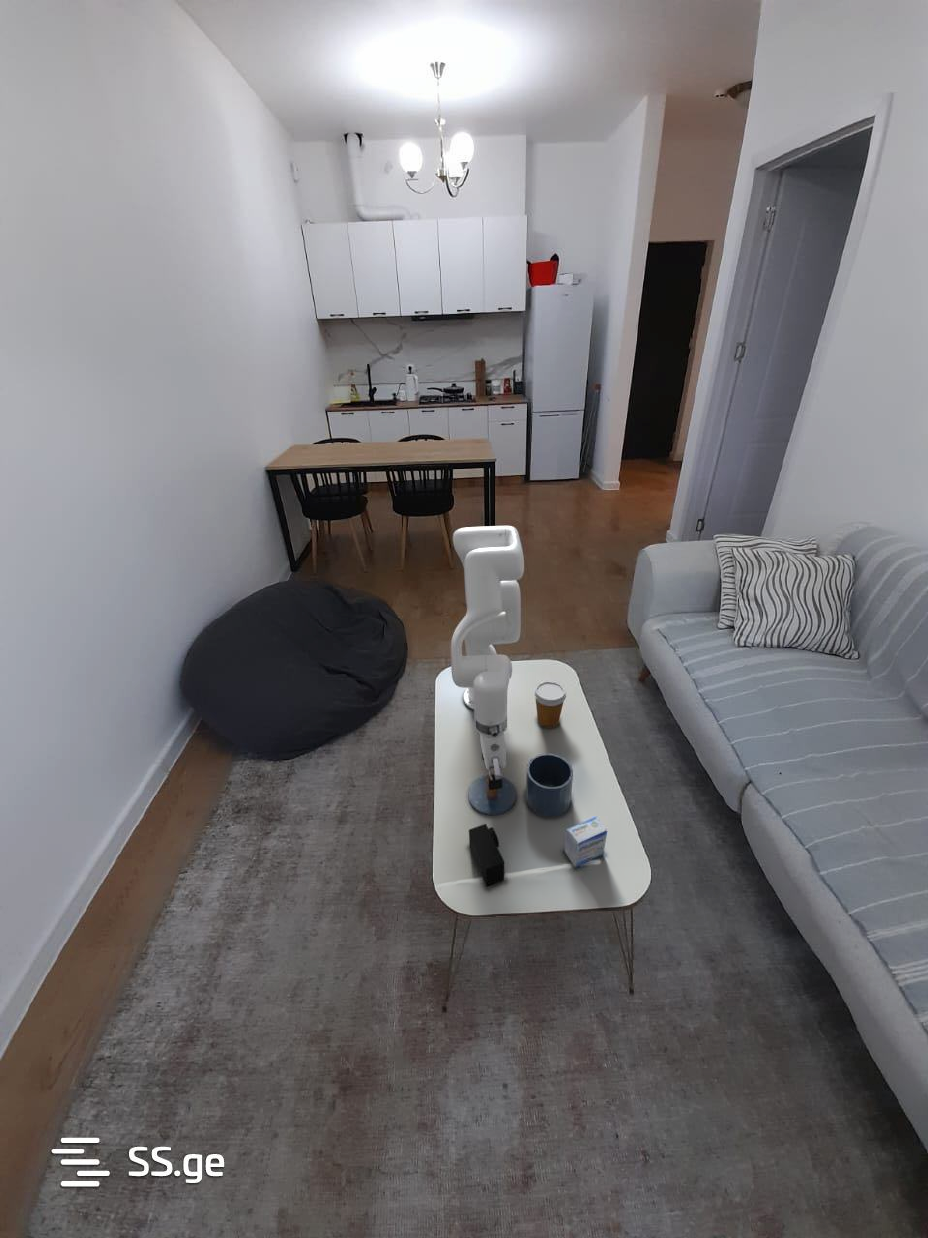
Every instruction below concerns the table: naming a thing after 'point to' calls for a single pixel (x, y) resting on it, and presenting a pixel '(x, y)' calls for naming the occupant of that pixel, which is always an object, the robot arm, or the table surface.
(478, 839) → the digital camera
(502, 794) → the lid
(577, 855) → the medicine box
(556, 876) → the table surface
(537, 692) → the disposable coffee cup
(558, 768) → the cup
